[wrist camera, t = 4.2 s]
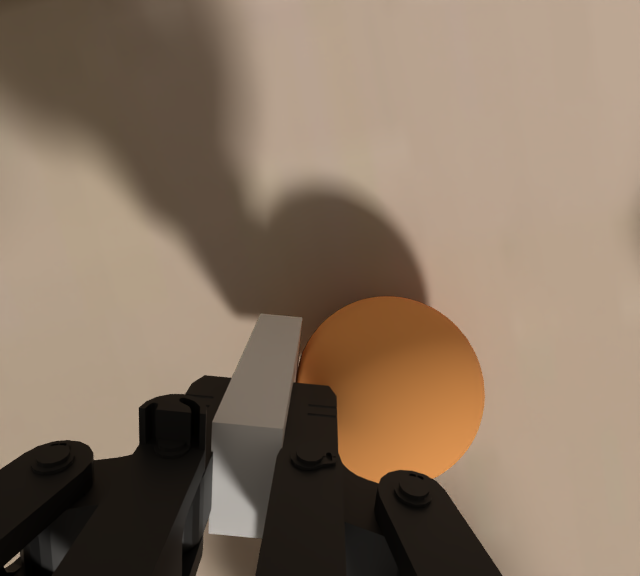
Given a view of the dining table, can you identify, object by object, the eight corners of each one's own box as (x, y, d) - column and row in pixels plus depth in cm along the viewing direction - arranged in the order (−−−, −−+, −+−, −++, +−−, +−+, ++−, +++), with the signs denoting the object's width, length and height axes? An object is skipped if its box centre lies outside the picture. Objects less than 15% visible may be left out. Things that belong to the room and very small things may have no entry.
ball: (270, 422, 18) (311, 546, 12) (289, 271, 16) (345, 331, 11) (410, 418, 19) (501, 523, 14) (438, 281, 18) (552, 338, 12)
